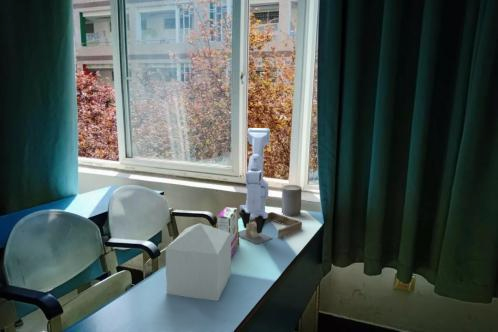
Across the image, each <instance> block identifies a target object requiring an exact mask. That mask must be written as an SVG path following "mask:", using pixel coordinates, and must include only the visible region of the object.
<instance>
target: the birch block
mask: <svg viewBox="0 0 498 332" xmlns="http://www.w3.org/2000/svg"><path fill="white" fill-rule="evenodd" d="M245 229H246V236H249V237H251V238H255V237H257V236H260V233H259V234H258V233H257V225H256V223H255V222H251V223H250V222H249V223H248V224H246V228H245Z"/></svg>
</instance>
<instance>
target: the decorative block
mask: <svg viewBox="0 0 498 332" xmlns="http://www.w3.org/2000/svg"><path fill="white" fill-rule="evenodd" d="M231 261H232V258H231V234H230V233H228V232H226V231H223V230H220V229H217V227H214V226H211V225H210V226H209V225H208V224H207V225H206V224H203V223H201V222H200V223H197V224H193V225H191V226H189V227H186V228H185V229H184V230H183V231H182V232H181V233H179V234H178V235H177V237H176V238H174V240H173V241H171V242H170V243H169V244H168V245H167V247H165V277H166V294H167V295H173V296H180V297H187V298H192V299H193V298H194V299H201V300H209V301H217V302H218V301H219V299H220V298H221V295H222V293H223V291H224V289H225V287H226V286H227V283H228V281H229V278H230V277H231V273H232V272H231V271H232V268H231V267H232V265H231V263H232V262H231Z"/></svg>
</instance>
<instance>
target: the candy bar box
mask: <svg viewBox="0 0 498 332" xmlns="http://www.w3.org/2000/svg"><path fill="white" fill-rule="evenodd" d="M217 215H218V214H217ZM237 218H238V208H237V207H229V206H226V207H224V208H223V210H222V211H221V212H220V214H219V215H218V217H216V228H217V229H220V230H223V231H226V232H228V233H230V234H231V259H232V258H233V256H234V254H235V252H236V250H237V249H238V245H237Z"/></svg>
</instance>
